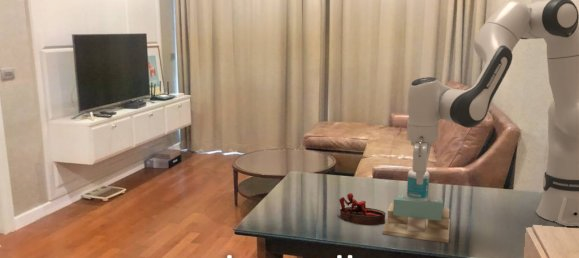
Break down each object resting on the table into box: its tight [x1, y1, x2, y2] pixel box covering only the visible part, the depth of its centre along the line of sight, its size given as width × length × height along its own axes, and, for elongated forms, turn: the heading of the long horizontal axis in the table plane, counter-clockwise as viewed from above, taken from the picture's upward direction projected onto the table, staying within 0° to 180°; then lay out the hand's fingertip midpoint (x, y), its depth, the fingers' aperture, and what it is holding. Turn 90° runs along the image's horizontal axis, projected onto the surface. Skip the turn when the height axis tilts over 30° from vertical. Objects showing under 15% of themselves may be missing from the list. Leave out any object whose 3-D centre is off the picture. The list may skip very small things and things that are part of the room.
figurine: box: [338, 192, 386, 226], centre depth 157 cm, size 15×10×10 cm, turn 79°
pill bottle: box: [406, 163, 430, 201], centre depth 173 cm, size 8×7×14 cm
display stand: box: [382, 201, 451, 244], centre depth 149 cm, size 19×16×5 cm
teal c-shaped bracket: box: [393, 194, 444, 221], centre depth 150 cm, size 14×12×5 cm
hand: (420, 179), depth 143 cm, fingers open, 8 cm apart
